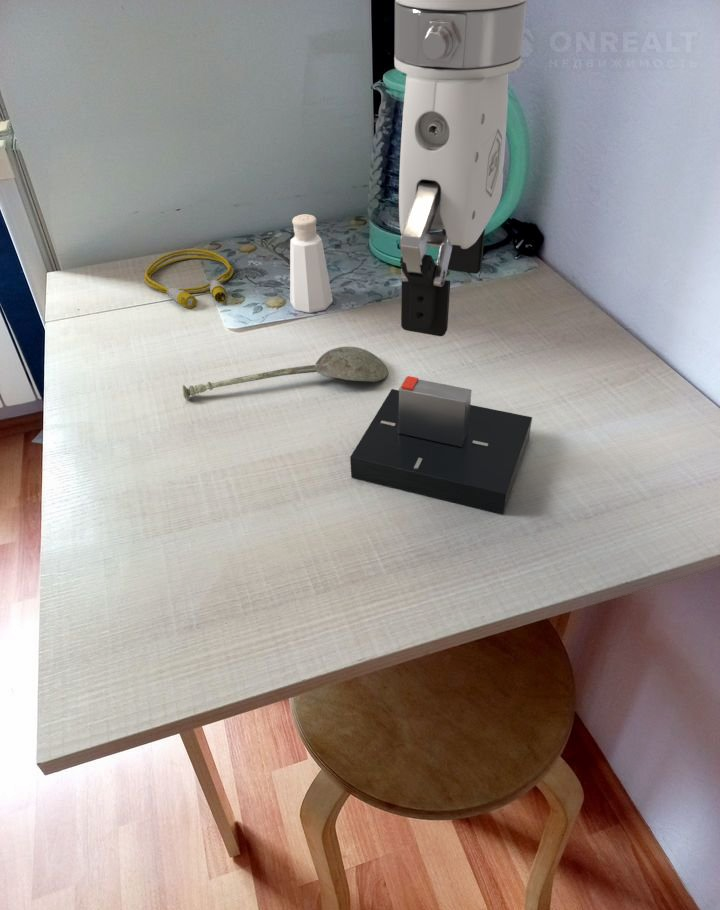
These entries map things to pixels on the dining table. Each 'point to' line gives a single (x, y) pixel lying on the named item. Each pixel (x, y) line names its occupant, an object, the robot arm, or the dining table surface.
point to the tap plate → (445, 457)
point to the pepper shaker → (308, 268)
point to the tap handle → (434, 411)
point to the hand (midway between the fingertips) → (443, 298)
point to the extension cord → (185, 295)
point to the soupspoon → (317, 369)
